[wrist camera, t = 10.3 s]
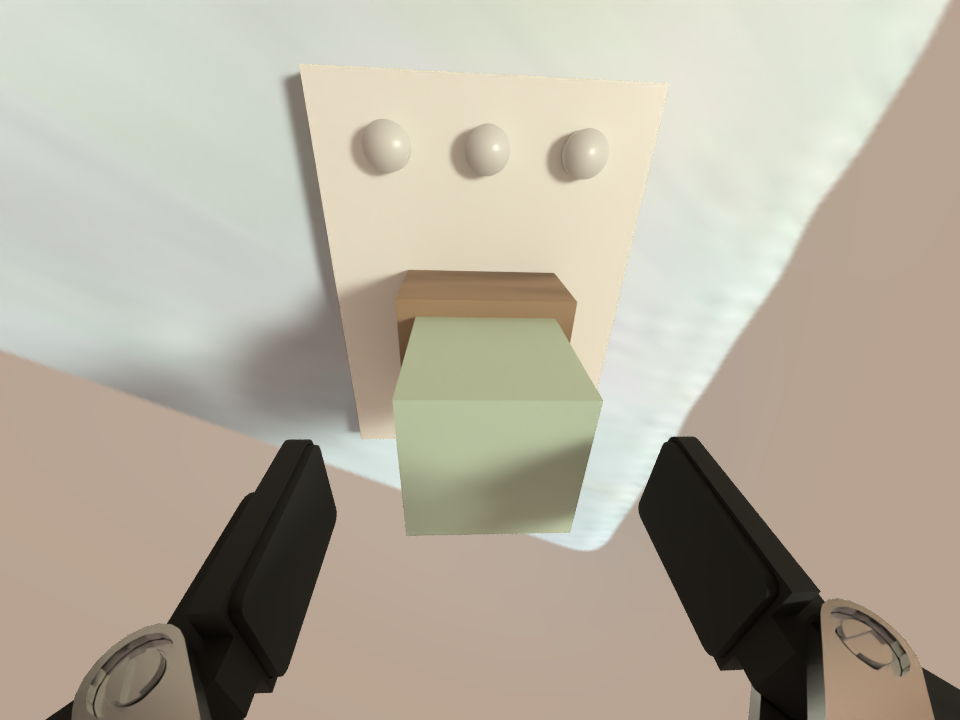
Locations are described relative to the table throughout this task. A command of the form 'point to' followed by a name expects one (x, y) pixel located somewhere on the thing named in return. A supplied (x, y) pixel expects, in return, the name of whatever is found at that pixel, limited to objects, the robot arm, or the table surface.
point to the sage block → (492, 426)
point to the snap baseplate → (474, 195)
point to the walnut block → (481, 298)
